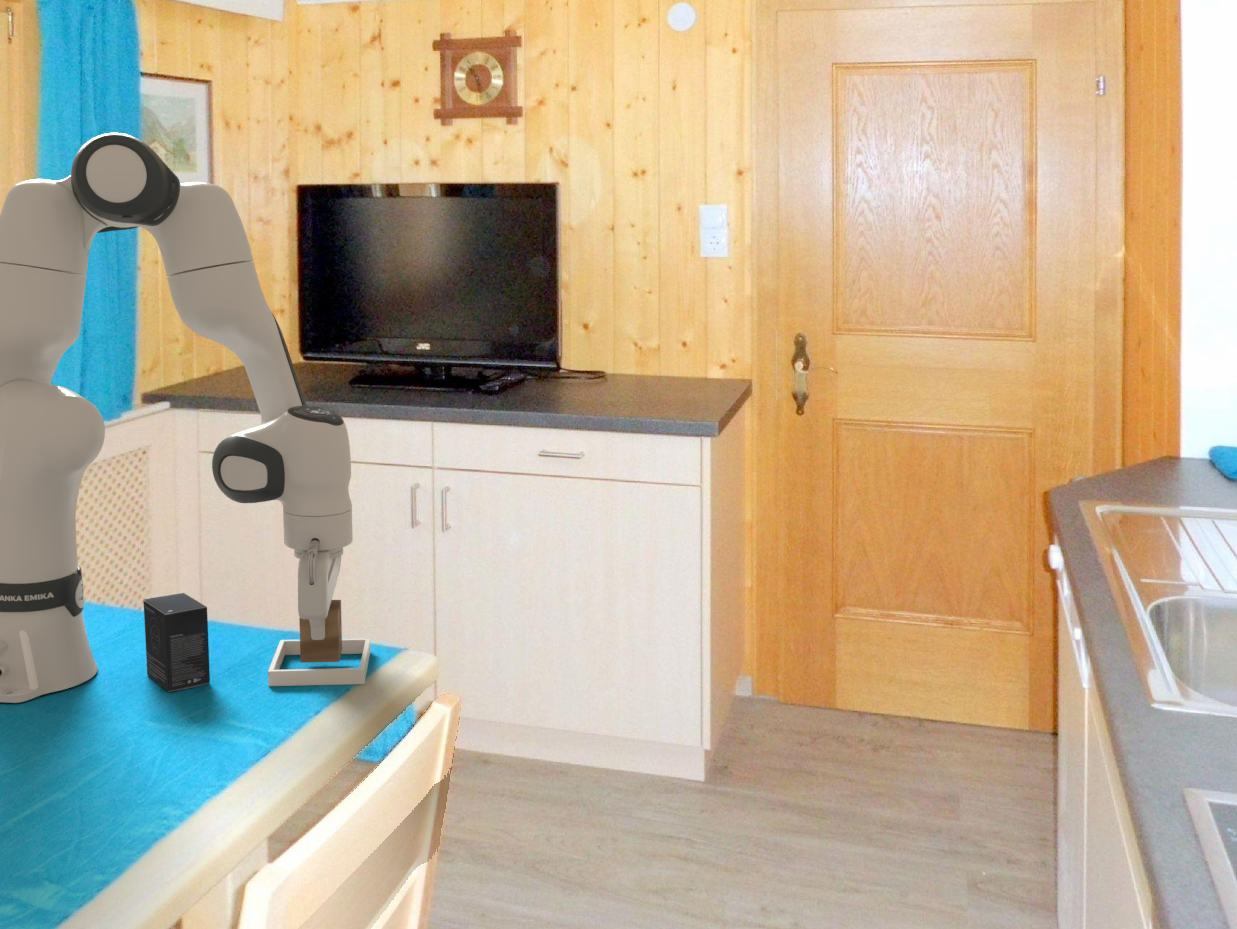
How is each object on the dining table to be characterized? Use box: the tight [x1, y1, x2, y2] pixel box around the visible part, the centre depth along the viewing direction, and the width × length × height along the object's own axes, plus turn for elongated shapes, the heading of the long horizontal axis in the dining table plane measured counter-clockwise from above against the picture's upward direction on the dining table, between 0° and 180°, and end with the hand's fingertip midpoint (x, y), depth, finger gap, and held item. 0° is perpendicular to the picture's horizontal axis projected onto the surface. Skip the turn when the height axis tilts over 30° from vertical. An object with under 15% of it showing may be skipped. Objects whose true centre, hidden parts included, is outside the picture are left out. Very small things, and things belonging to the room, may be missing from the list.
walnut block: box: [298, 599, 343, 664], centre depth 179 cm, size 5×5×7 cm
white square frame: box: [267, 637, 371, 687], centre depth 179 cm, size 12×12×2 cm
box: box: [143, 592, 211, 693], centre depth 173 cm, size 8×6×11 cm
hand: (320, 630), depth 179 cm, fingers closed on walnut block, 5 cm apart
